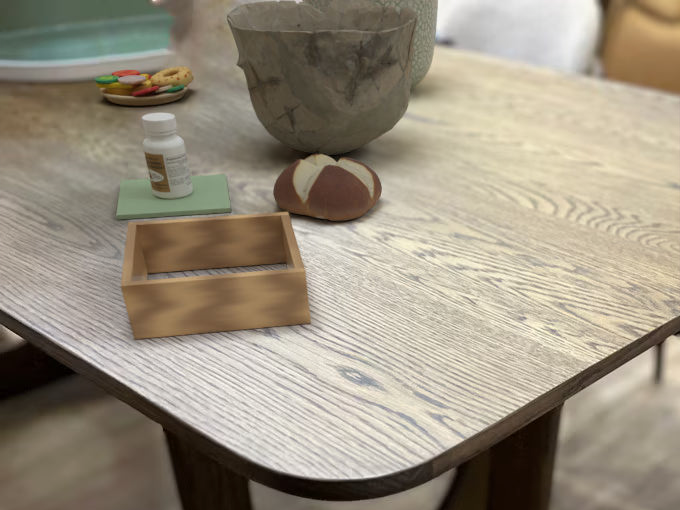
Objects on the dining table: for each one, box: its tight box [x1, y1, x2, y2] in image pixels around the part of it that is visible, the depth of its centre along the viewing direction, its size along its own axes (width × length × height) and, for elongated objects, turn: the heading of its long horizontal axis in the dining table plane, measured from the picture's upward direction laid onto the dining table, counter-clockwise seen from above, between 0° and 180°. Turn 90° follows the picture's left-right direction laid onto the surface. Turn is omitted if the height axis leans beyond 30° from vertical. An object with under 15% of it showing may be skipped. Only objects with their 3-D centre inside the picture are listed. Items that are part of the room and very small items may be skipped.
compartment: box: [120, 211, 312, 340], centre depth 74 cm, size 15×15×4 cm
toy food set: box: [94, 65, 195, 107], centre depth 127 cm, size 13×13×3 cm
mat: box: [115, 173, 232, 221], centre depth 95 cm, size 12×12×1 cm
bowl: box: [226, 0, 418, 156], centre depth 104 cm, size 22×22×15 cm
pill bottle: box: [141, 112, 193, 199], centre depth 92 cm, size 4×4×8 cm
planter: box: [301, 0, 439, 92], centre depth 127 cm, size 21×21×19 cm
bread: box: [272, 153, 383, 222], centre depth 92 cm, size 11×11×5 cm
